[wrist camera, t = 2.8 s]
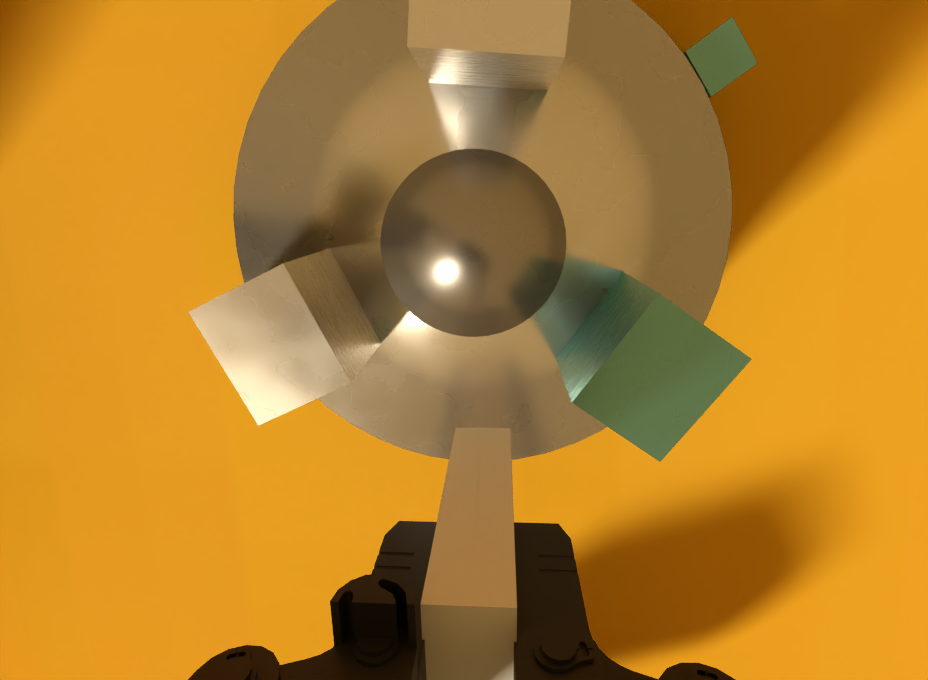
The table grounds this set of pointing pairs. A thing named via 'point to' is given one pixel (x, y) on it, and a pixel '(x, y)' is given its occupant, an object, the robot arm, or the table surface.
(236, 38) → the table surface
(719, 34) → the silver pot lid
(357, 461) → the table surface
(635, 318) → the lathe chuck
